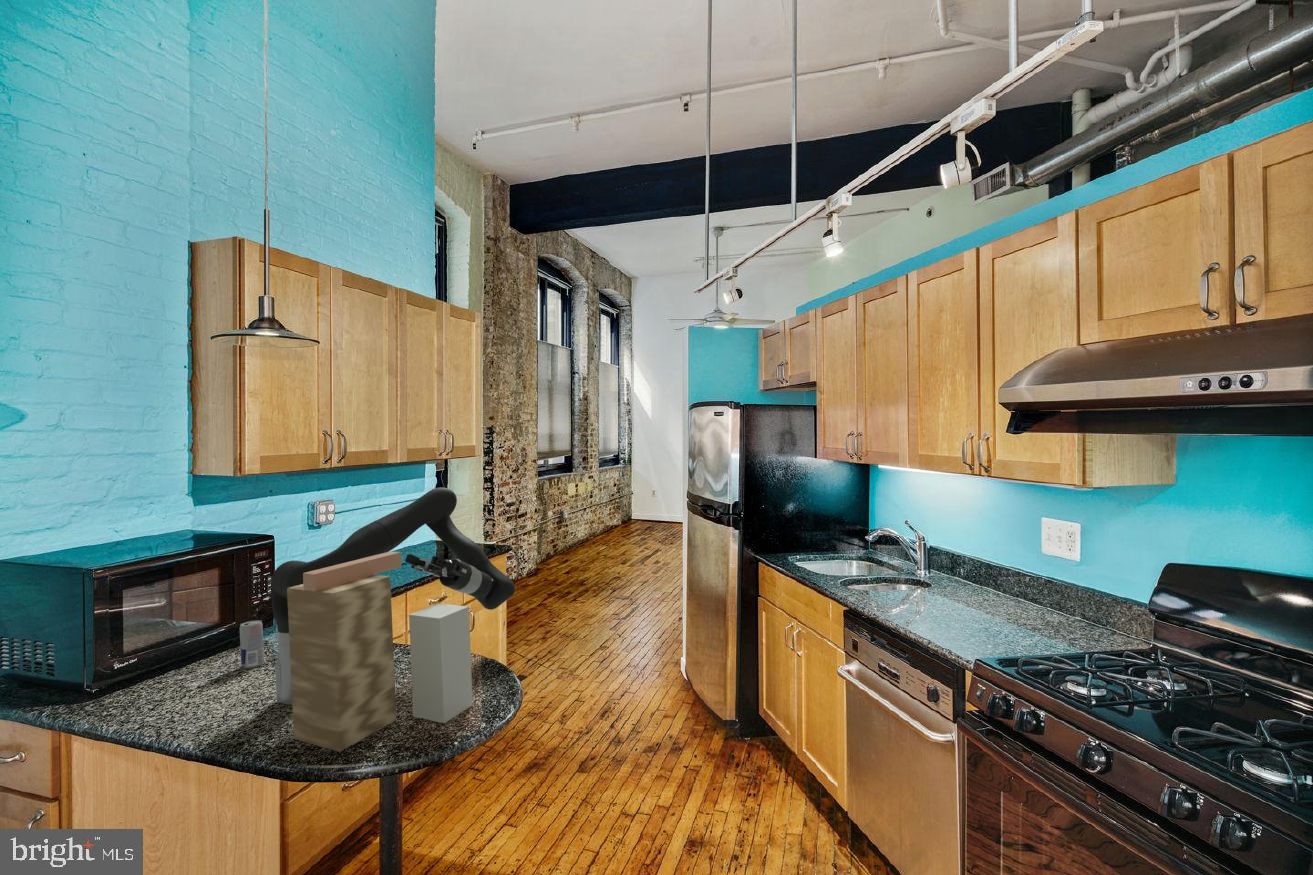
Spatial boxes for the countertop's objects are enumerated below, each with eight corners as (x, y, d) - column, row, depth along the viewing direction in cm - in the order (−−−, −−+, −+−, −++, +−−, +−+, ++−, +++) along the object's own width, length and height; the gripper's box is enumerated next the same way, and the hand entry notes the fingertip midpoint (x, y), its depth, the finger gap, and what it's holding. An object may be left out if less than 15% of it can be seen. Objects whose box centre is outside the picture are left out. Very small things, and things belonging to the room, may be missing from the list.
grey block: (443, 699, 141) (438, 603, 141) (472, 705, 138) (468, 606, 137) (413, 716, 133) (409, 614, 133) (444, 723, 130) (439, 618, 129)
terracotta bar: (390, 566, 142) (390, 551, 142) (401, 566, 141) (400, 552, 141) (303, 590, 122) (302, 573, 122) (315, 591, 121) (314, 574, 121)
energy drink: (248, 662, 171) (246, 620, 171) (268, 660, 171) (266, 619, 171) (237, 669, 165) (235, 626, 165) (257, 668, 166) (255, 625, 166)
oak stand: (352, 709, 138) (346, 572, 137) (396, 719, 132) (390, 576, 132) (294, 739, 125) (286, 588, 125) (340, 751, 119) (332, 593, 119)
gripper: (445, 561, 166) (404, 542, 153) (486, 564, 160) (446, 545, 147) (436, 588, 163) (393, 571, 150) (477, 592, 157) (436, 575, 144)
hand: (419, 558), depth 148 cm, fingers open, 8 cm apart
